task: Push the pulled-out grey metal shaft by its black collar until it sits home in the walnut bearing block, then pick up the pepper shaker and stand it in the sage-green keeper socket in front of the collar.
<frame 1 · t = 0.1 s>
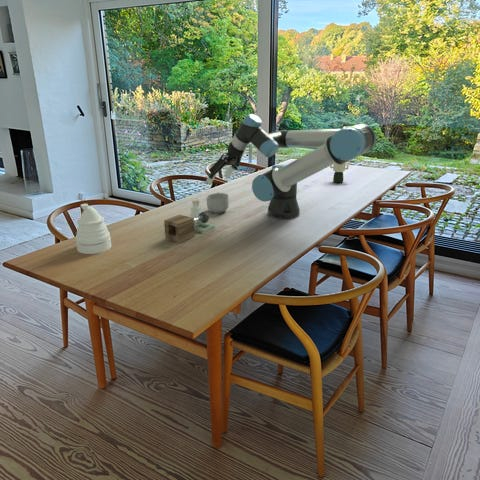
hand: (217, 180, 214), 15 cm above the table, tool tilted 35°, fingers open, 13 cm apart
trophy cup: (338, 182, 271), on the table
keeper socket: (201, 228, 196), on the table
shaft: (194, 221, 191), point 5 cm above the table, slide at 9.0 cm
teacup: (218, 210, 220), on the table
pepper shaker: (196, 220, 207), on the table
honey pot: (94, 248, 177), on the table
bearing block: (180, 238, 185), on the table
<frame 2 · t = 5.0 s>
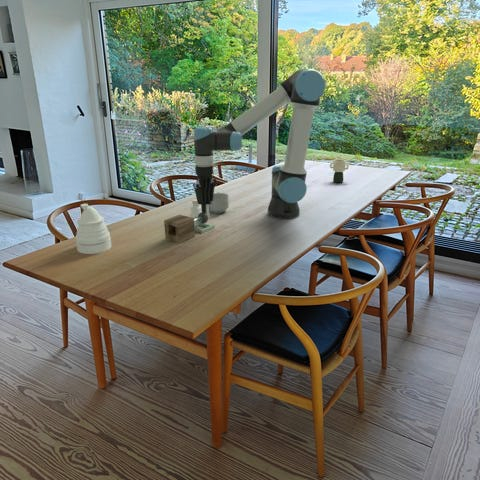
hand: (205, 218, 197), 4 cm above the table, tool pointing down, fingers closed
shaft: (193, 221, 190), point 5 cm above the table, slide at 8.4 cm, touching gripper
everything else where it was.
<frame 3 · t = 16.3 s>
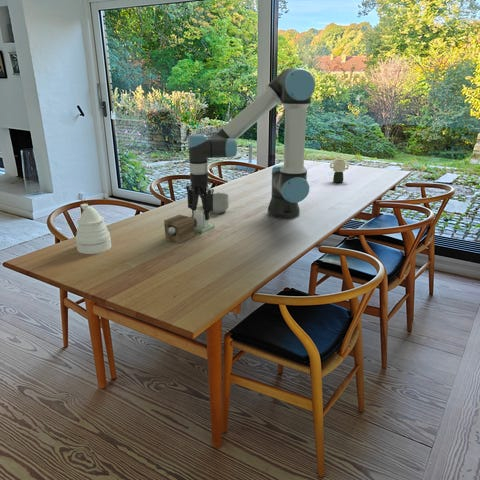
hand: (201, 225, 195), 1 cm above the table, tool pointing down, fingers closed on keeper socket, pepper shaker, 4 cm apart
shaft: (181, 226, 185), point 5 cm above the table, slide at 1.2 cm
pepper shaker: (201, 226, 195), point 1 cm above the table, touching gripper
everything else where it was.
when the fingers open (1 cm above the table, at t = 17.5 s): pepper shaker stays where it is, resting in keeper socket.
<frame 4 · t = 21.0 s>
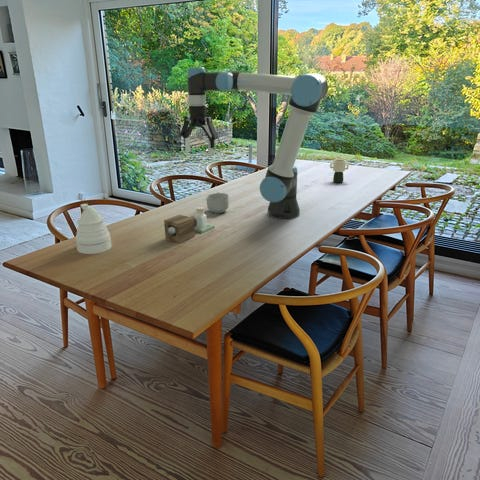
hand: (199, 153, 204), 29 cm above the table, tool pointing down, fingers open, 13 cm apart
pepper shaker: (201, 229, 196), resting in keeper socket
everything else where it was.
at the end: shaft slide at 1.2 cm; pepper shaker 0.1 cm from the target spot, resting in keeper socket; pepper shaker tilted 0° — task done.
